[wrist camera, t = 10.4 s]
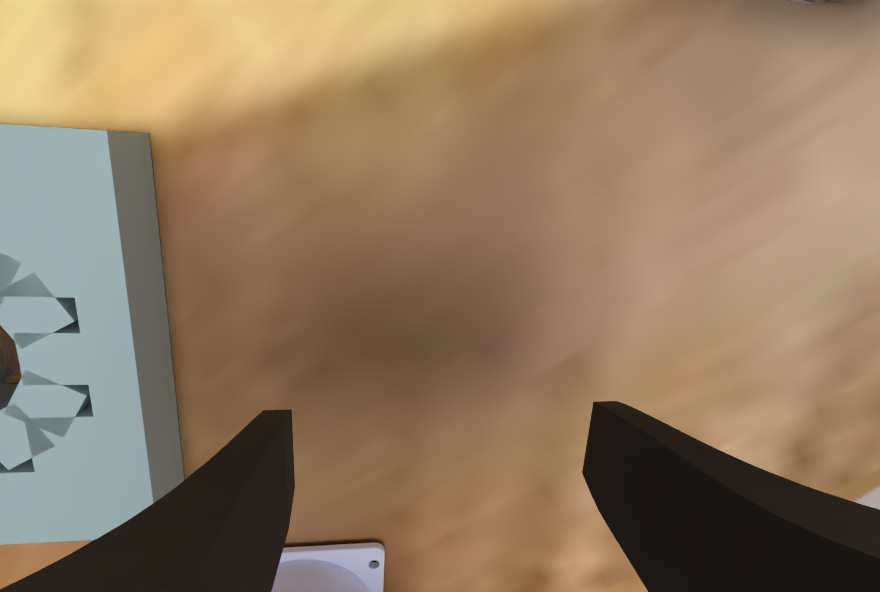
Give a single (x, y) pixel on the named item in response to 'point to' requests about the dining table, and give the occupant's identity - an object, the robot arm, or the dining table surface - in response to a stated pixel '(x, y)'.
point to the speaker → (814, 1)
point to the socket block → (82, 335)
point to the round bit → (8, 357)
